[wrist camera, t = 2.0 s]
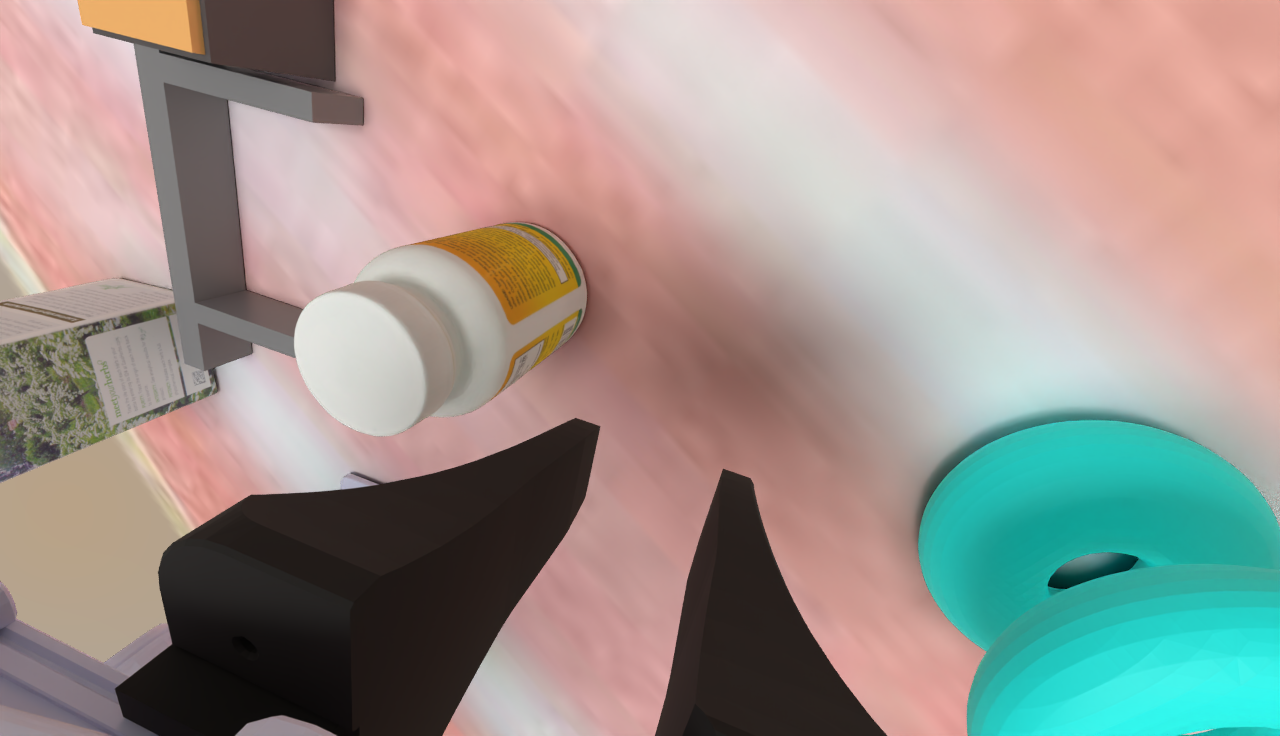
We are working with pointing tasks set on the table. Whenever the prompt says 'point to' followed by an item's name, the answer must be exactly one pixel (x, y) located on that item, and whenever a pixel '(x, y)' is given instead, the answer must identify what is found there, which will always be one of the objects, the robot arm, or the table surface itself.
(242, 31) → the grey tray with block
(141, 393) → the syrup box
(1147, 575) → the donuts
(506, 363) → the supplement bottle
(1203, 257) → the table surface
